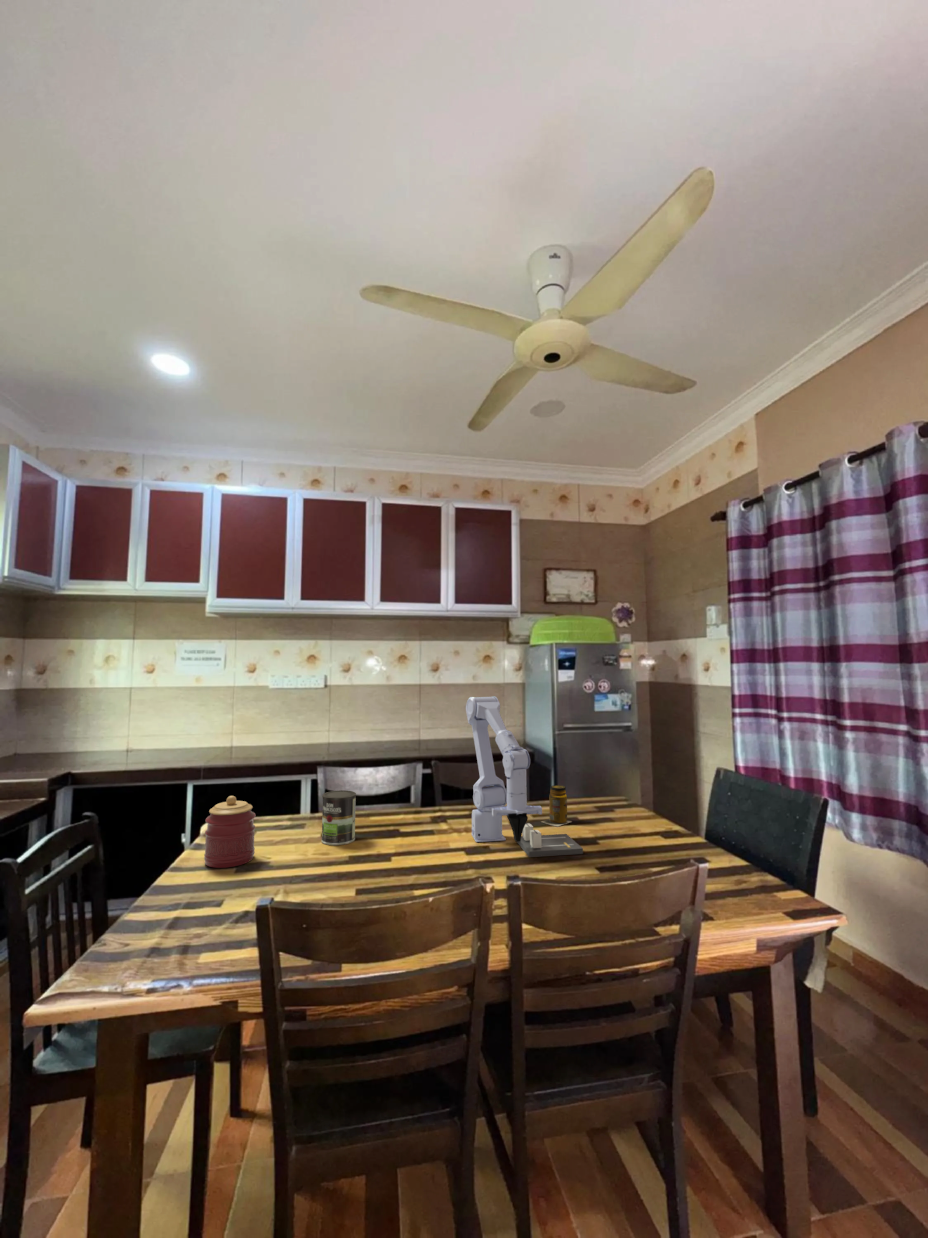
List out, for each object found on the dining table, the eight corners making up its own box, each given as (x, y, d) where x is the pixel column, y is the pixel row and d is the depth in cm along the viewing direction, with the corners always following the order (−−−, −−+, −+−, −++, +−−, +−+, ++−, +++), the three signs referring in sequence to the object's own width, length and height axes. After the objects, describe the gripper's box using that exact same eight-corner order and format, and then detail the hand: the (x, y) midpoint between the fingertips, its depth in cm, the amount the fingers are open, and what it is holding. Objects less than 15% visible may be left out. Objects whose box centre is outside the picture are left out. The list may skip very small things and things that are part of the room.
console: (529, 857, 156) (529, 851, 157) (516, 841, 170) (516, 836, 170) (583, 854, 159) (582, 848, 159) (566, 838, 173) (566, 833, 173)
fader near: (533, 848, 159) (533, 833, 159) (530, 844, 162) (529, 830, 162) (541, 847, 159) (541, 833, 159) (537, 844, 162) (537, 829, 163)
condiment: (572, 822, 191) (571, 786, 192) (557, 827, 185) (557, 790, 186) (555, 818, 197) (554, 783, 198) (540, 822, 191) (540, 787, 192)
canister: (243, 849, 164) (244, 788, 165) (262, 860, 155) (264, 796, 156) (196, 860, 155) (199, 796, 156) (214, 873, 146) (216, 804, 147)
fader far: (525, 840, 165) (525, 826, 166) (522, 837, 169) (522, 823, 169) (533, 840, 166) (533, 826, 166) (529, 836, 169) (529, 823, 170)
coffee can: (343, 847, 166) (343, 799, 167) (314, 843, 169) (315, 796, 171) (361, 837, 175) (362, 791, 176) (334, 833, 179) (335, 789, 180)
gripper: (495, 796, 156) (495, 846, 155) (544, 794, 158) (545, 843, 157) (490, 791, 163) (490, 838, 162) (537, 789, 165) (538, 836, 164)
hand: (517, 840), depth 160 cm, fingers closed
